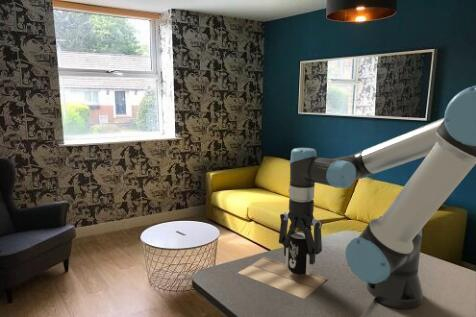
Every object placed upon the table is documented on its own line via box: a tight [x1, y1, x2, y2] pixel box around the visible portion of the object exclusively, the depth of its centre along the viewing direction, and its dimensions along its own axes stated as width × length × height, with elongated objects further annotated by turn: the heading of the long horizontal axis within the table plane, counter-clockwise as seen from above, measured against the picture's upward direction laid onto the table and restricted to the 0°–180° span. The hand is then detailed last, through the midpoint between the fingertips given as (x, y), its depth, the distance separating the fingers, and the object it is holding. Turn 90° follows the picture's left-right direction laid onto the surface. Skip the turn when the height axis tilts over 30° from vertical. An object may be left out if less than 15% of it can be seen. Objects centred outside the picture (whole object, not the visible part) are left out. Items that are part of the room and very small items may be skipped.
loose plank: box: [251, 256, 328, 290], centre depth 116 cm, size 24×7×1 cm, turn 51°
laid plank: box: [237, 264, 317, 300], centre depth 111 cm, size 24×7×1 cm, turn 51°
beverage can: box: [288, 230, 309, 275], centre depth 113 cm, size 7×7×12 cm
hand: (298, 269), depth 113 cm, fingers closed on beverage can, 7 cm apart
